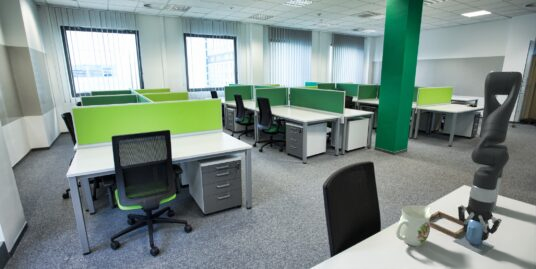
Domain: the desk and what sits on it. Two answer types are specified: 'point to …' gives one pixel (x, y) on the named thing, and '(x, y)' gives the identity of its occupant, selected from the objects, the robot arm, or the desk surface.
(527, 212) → the desk surface
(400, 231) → the pitcher
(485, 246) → the mat
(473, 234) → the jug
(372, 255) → the desk surface
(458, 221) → the holder
